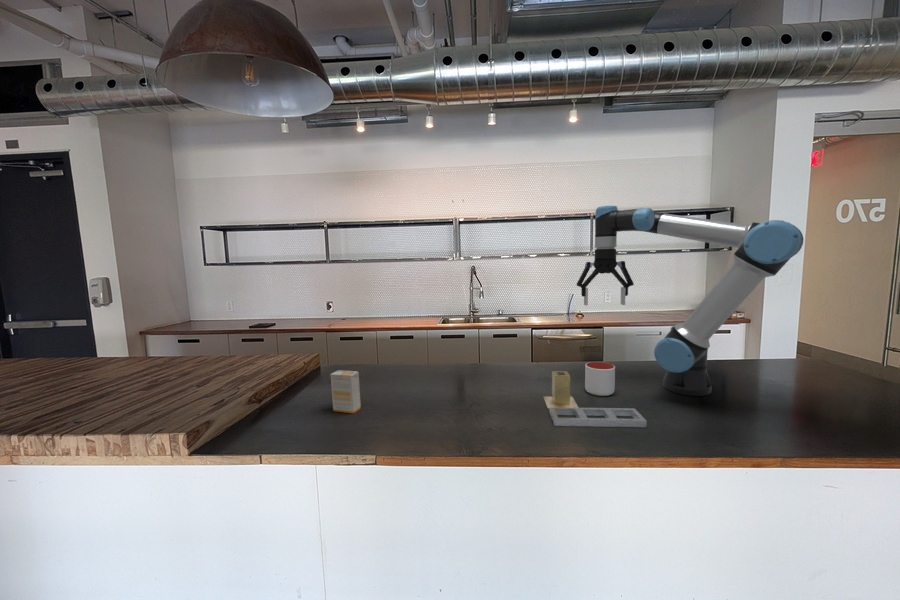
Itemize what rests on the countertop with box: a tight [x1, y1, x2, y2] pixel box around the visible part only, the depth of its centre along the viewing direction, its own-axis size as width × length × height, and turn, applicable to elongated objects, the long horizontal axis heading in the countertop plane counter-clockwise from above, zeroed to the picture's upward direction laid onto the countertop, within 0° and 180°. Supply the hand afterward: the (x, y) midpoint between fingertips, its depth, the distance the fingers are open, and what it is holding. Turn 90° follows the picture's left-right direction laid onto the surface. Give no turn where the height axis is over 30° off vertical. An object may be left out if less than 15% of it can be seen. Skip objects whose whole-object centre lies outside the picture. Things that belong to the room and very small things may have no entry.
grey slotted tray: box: [549, 407, 648, 428], centre depth 115 cm, size 26×9×2 cm, turn 85°
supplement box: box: [330, 369, 362, 414], centre depth 127 cm, size 8×5×13 cm, turn 71°
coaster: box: [542, 396, 580, 410], centre depth 129 cm, size 10×10×1 cm
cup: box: [584, 361, 616, 397], centre depth 138 cm, size 10×10×10 cm
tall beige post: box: [551, 370, 571, 405], centre depth 128 cm, size 5×5×10 cm
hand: (604, 304), depth 144 cm, fingers open, 13 cm apart
